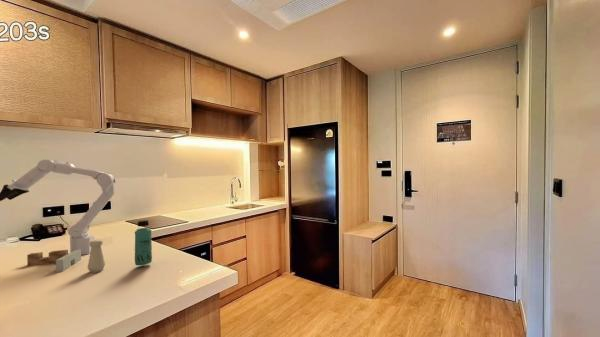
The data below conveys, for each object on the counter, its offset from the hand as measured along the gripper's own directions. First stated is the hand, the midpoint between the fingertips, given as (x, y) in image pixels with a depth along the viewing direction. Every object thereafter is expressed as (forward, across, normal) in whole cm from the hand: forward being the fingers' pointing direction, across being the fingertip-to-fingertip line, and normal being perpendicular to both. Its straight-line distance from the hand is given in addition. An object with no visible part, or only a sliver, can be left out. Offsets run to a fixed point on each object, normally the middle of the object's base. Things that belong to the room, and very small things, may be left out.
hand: (3, 199), depth 122 cm
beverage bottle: (-22, +40, +66) cm, 80 cm away
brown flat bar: (+7, +10, +36) cm, 38 cm away
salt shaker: (-10, +36, +53) cm, 65 cm away
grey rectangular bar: (0, +21, +44) cm, 48 cm away
